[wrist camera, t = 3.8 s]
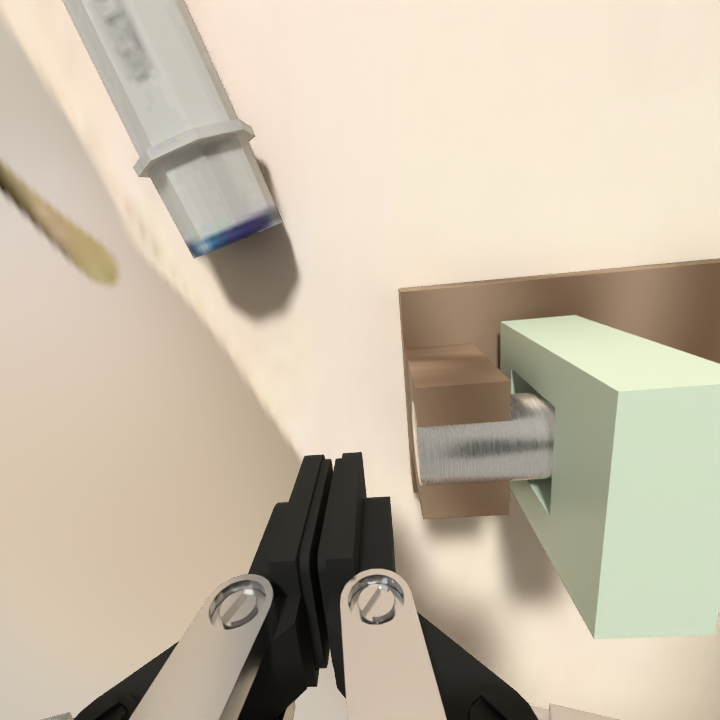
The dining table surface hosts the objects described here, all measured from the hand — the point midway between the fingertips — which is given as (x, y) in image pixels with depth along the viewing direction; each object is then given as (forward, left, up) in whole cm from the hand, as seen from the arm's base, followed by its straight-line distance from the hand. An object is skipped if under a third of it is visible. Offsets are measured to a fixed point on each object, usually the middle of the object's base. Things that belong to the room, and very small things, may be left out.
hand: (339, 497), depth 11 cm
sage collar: (0, +8, -6) cm, 10 cm away
